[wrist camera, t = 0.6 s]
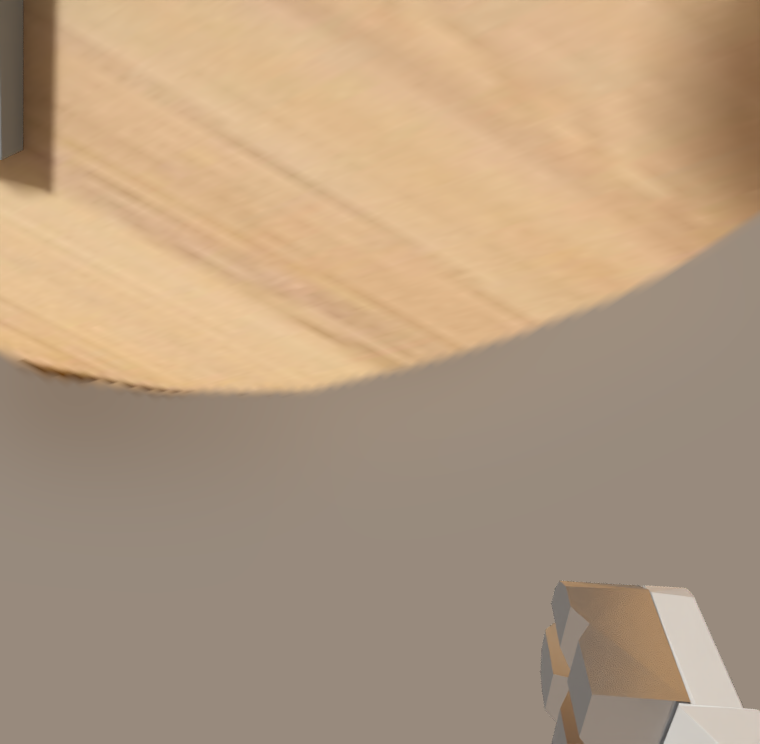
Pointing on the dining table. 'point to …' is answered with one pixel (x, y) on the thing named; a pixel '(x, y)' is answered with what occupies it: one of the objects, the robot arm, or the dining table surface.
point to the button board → (11, 77)
